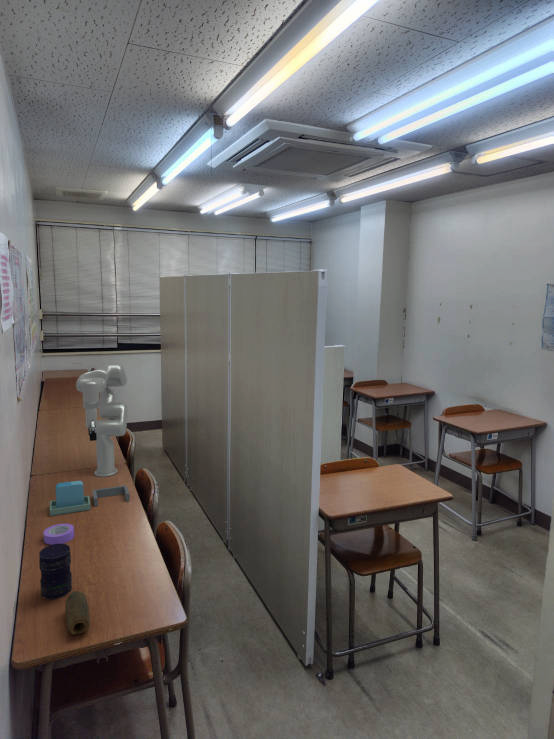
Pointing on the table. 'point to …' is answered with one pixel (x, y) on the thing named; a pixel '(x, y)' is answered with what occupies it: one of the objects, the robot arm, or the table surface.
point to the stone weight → (77, 613)
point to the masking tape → (59, 534)
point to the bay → (110, 493)
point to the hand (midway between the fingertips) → (92, 437)
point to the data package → (69, 494)
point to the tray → (71, 509)
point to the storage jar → (55, 571)
